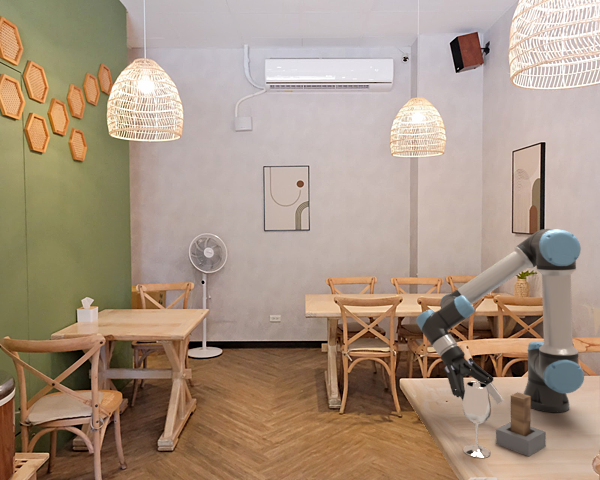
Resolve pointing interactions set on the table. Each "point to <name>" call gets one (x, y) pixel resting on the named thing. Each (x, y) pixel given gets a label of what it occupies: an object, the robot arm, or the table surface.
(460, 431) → the table surface
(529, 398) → the wooden block
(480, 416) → the wineglass
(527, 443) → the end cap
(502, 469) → the table surface
